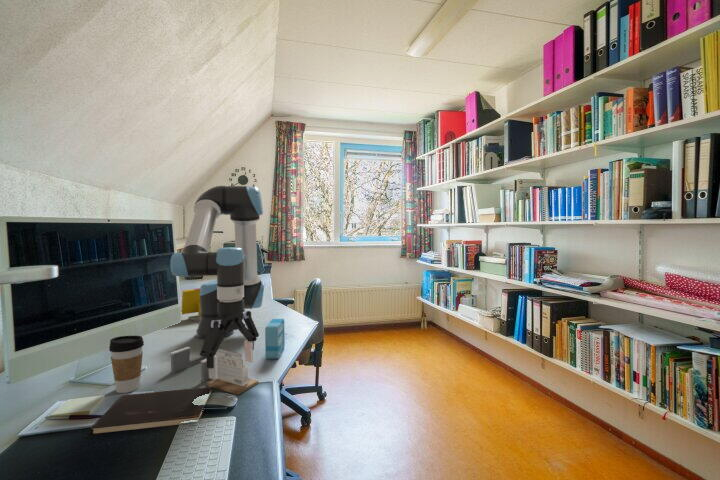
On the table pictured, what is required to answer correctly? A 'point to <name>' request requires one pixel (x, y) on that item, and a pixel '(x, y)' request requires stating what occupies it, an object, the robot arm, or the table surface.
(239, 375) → the ink cartridge box
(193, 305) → the yellow and white box
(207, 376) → the grey u-shaped frame
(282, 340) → the data package
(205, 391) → the hardcover book
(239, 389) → the walnut mat
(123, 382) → the coffee cup
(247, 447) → the table surface
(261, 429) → the table surface
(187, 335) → the table surface
